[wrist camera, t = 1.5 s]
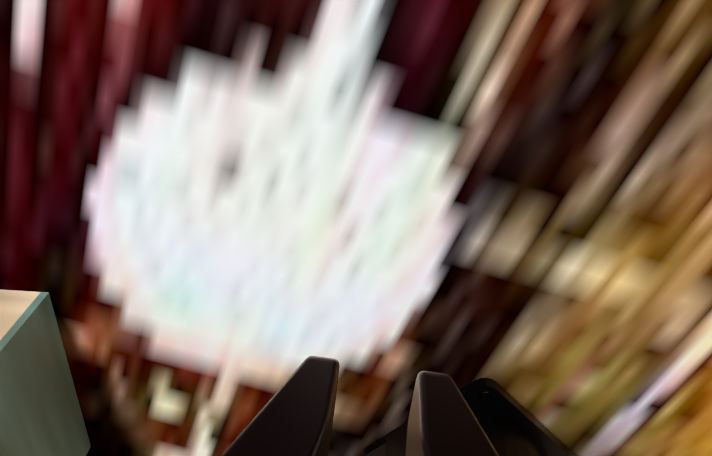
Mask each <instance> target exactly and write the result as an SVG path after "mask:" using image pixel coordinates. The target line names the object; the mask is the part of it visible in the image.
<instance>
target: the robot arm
mask: <svg viewBox="0 0 712 456" xmlns="http://www.w3.org/2000/svg"><path fill="white" fill-rule="evenodd" d="M338 374H339V362H338V361H337V360H336V359H332V358H324V357H317V356H310V357H308V358H307V359H306V360H305V361H304V362H303V363H302V364H301V365H300V366H299V368H298V369H297V370H296V371H295V372H294V373H293V374H292V376H291V377H290V378H289V379H288V380H287V381H286V382H285V384H284V385H283V386H282V387H281V388H280V389H279V390H278V392H277V393H276V394H275V395H274V396H273V397H272V398H271V400H270V401H269V402H268V403H267V404H266V405H265V406H264V408H263V409H262V410H261V411H260V412H259V413H258V414H257V416H256V417H255V418H254V419H253V420H252V421H251V422H250V423H249V425H248V426H247V427H246V428H245V429H244V430H243V431H242V433H241V434H240V435H239V436H238V437H237V438H236V439H235V441H234V442H233V443H232V444H231V445H230V446H229V447H228V449H227V450H226V451H225V452H224V453H223V454H222V455H221V456H328V451H329V444H330V437H331V430H332V423H333V416H334V409H335V400H336V391H337V383H338ZM482 391H489V392H488V393H481V392H482ZM363 456H576V455H575V454H574V453H573V452H572V451H571V450H570V449H569V448H568V447H567V446H565V445H564V444H563V443H562V442H561V441H560V440H559V439H558V438H557V437H556V436H554V435H553V434H552V433H551V432H550V431H549V430H548V429H547V428H546V427H545V426H544V425H542V424H541V423H540V422H539V421H538V420H537V419H536V418H535V417H534V416H533V415H531V414H530V413H529V412H528V411H527V410H526V409H525V408H524V407H523V406H522V405H520V404H519V403H518V402H517V401H516V400H515V399H514V398H513V397H512V396H511V395H510V394H508V393H507V392H506V391H505V390H504V389H503V388H502V387H501V386H500V385H499V384H497V383H496V382H495V381H494V380H492V379H488V378H480V379H478V380H475V381H474V382H472V383H470V384H469V385H467V386H466V387H464V388H462V389H461V390H459V389H458V388H457V386H456V384H455V383H454V381H453V379H452V378H451V377H450V376H449V375H447V374H443V373H436V372H428V371H421V372H420V373H419V374H418V375H417V379H416V383H415V388H414V393H413V398H412V404H411V409H410V414H409V420H408V422H406V423H404V424H403V425H401V426H400V427H398V428H396V429H395V430H393V431H391V432H390V433H388V434H387V435H385V436H384V437H382V438H380V439H379V440H377V441H375V442H374V443H372V444H371V445H369V446H367V447H366V448H365V449H364V451H363Z"/></svg>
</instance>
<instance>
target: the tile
mask: <svg viewBox="0 0 712 456" xmlns="http://www.w3.org/2000/svg"><path fill="white" fill-rule="evenodd" d="M90 447H91V445H90V441H89V438H88V434H87V430H86V427H85V423H84V419H83V416H82V412H81V408H80V405H79V401H78V397H77V394H76V390H75V386H74V383H73V379H72V375H71V372H70V368H69V364H68V361H67V357H66V354H65V350H64V346H63V343H62V339H61V335H60V332H59V328H58V324H57V321H56V317H55V313H54V310H53V306H52V302H51V299H50V295H49V293H47V292H31V291H15V290H0V456H86V455H87V453H88V451H89V449H90Z"/></svg>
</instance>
